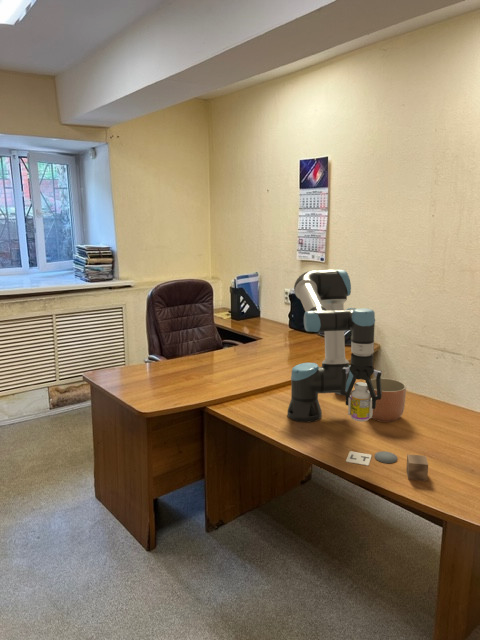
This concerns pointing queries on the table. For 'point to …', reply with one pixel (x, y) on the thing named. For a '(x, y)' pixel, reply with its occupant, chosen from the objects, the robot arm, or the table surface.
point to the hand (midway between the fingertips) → (360, 415)
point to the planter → (389, 400)
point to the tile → (359, 458)
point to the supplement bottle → (360, 402)
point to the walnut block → (417, 467)
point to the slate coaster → (385, 457)
